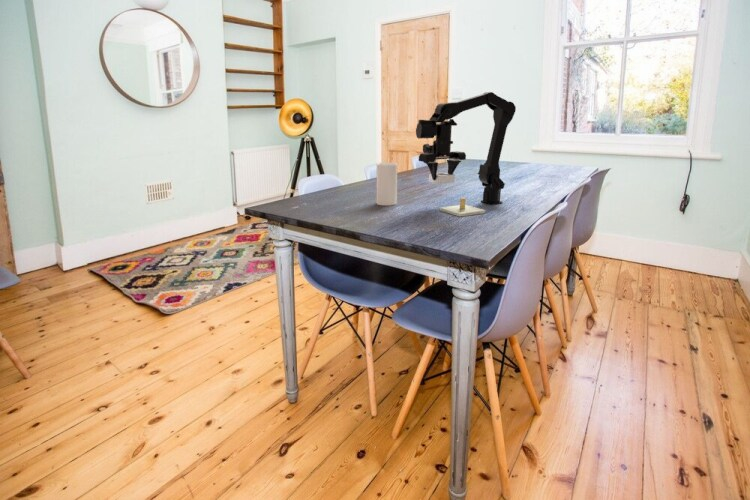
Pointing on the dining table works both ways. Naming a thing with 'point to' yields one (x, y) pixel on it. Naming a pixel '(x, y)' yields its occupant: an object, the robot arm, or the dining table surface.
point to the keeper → (462, 209)
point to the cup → (386, 183)
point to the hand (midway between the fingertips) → (441, 179)
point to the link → (442, 178)
